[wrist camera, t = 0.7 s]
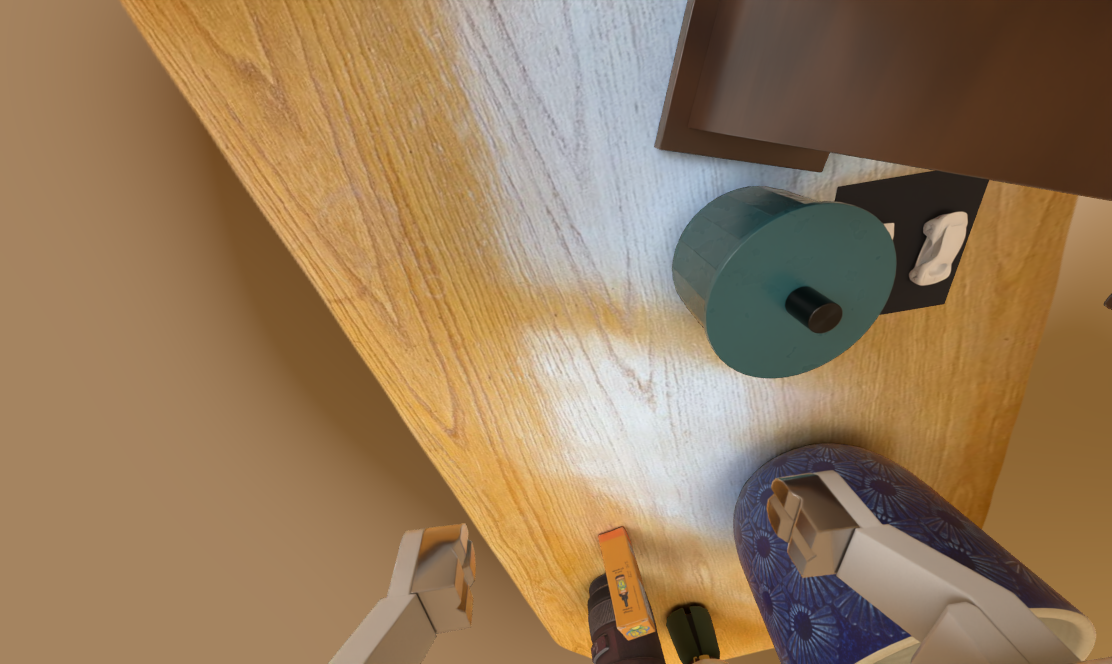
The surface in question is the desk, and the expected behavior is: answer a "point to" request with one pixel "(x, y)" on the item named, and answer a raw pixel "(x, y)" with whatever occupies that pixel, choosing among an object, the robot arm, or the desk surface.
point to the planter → (839, 611)
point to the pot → (722, 237)
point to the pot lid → (799, 289)
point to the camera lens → (617, 632)
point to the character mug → (694, 636)
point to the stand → (900, 87)
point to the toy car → (921, 229)
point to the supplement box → (625, 585)
